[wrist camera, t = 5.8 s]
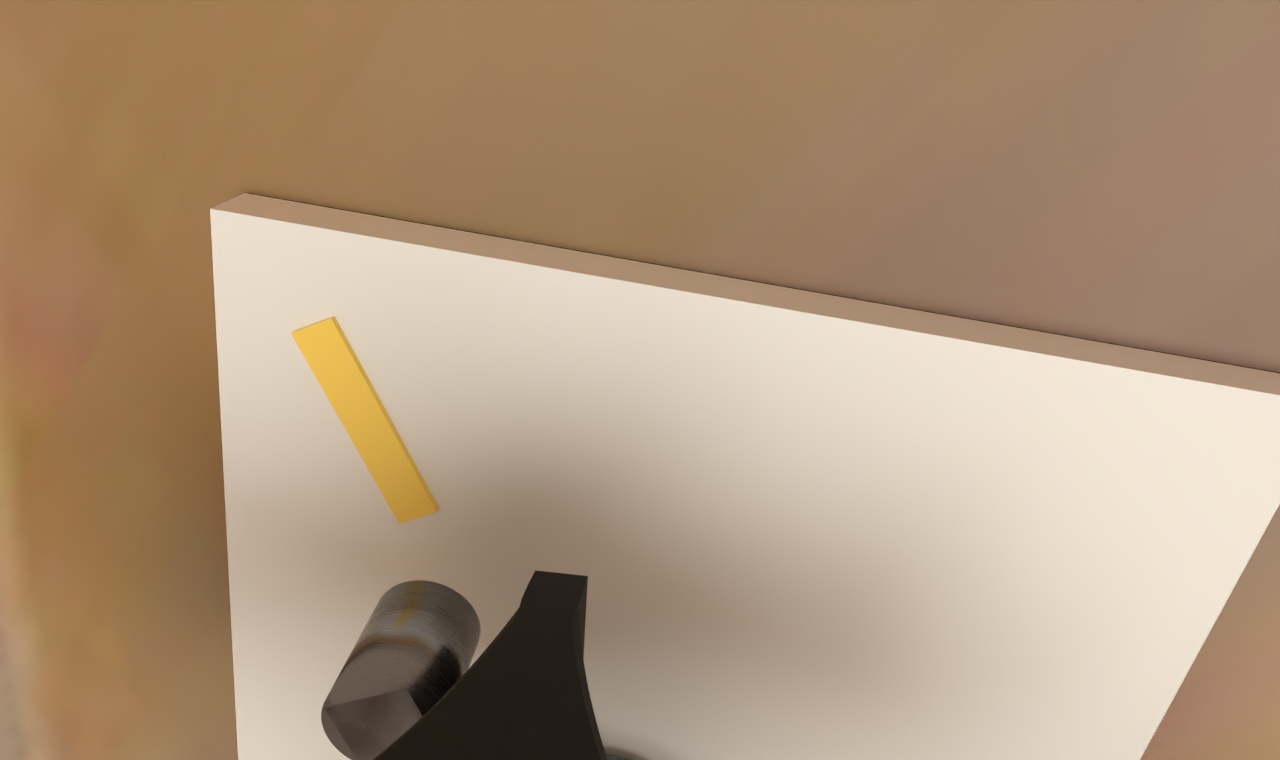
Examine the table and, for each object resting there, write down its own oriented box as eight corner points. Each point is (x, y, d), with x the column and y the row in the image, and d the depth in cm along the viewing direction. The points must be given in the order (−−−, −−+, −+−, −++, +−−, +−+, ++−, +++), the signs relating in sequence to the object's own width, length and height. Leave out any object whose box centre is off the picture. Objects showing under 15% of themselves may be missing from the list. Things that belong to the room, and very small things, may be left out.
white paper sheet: (938, 1061, 21) (956, 1154, 19) (269, 941, 21) (231, 1022, 19) (1291, 375, 13) (1371, 431, 12) (244, 192, 13) (178, 223, 12)
